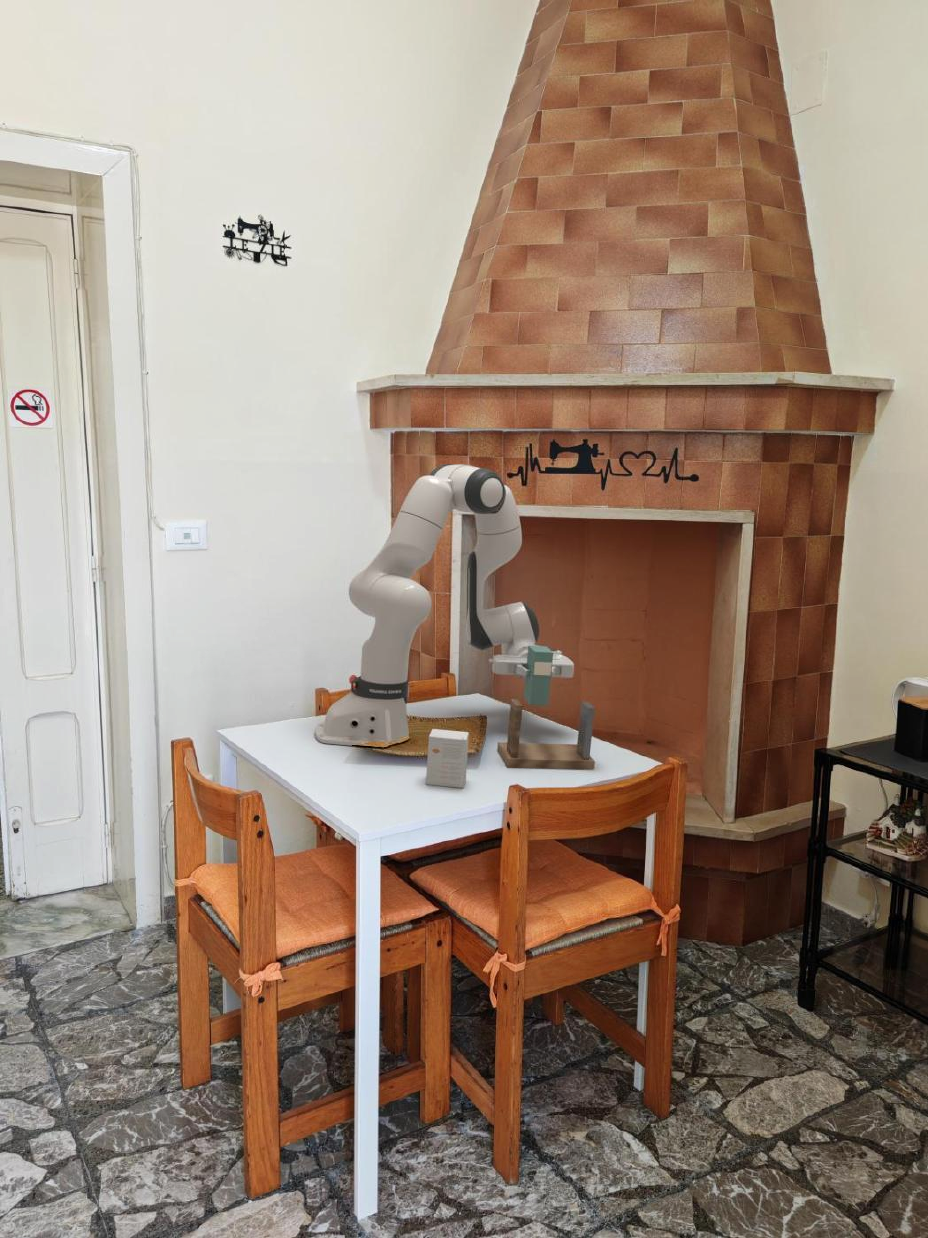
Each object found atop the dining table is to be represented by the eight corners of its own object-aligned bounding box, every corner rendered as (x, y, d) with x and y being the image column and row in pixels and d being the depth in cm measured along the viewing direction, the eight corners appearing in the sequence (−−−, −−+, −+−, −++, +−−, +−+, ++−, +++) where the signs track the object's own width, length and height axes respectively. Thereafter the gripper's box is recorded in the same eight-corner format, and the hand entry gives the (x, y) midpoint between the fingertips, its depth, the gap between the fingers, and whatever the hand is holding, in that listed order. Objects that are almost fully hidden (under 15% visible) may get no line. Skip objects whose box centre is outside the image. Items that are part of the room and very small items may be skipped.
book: (529, 705, 219) (535, 651, 217) (523, 697, 226) (528, 645, 224) (548, 706, 220) (553, 652, 218) (541, 698, 227) (546, 646, 225)
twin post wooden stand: (507, 767, 205) (512, 706, 203) (497, 750, 217) (502, 692, 214) (593, 769, 208) (600, 709, 206) (579, 752, 220) (585, 695, 217)
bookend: (582, 759, 208) (588, 708, 206) (576, 751, 214) (581, 701, 212) (589, 759, 209) (594, 708, 206) (582, 751, 214) (587, 701, 212)
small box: (466, 779, 195) (470, 732, 193) (463, 789, 190) (467, 739, 188) (428, 775, 196) (432, 728, 194) (425, 784, 190) (428, 735, 189)
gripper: (487, 646, 232) (497, 659, 219) (566, 650, 236) (581, 663, 222) (485, 671, 233) (495, 684, 220) (564, 674, 237) (578, 688, 223)
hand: (539, 674), depth 221 cm, fingers closed on book, 4 cm apart
